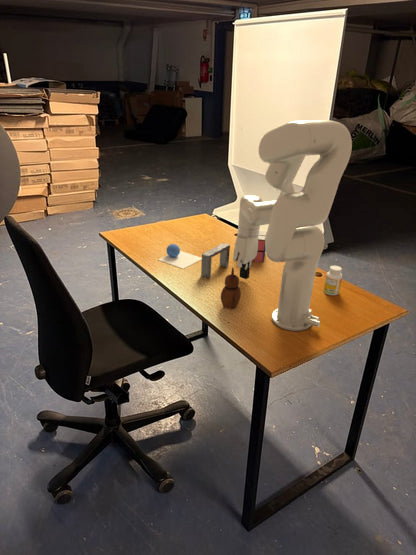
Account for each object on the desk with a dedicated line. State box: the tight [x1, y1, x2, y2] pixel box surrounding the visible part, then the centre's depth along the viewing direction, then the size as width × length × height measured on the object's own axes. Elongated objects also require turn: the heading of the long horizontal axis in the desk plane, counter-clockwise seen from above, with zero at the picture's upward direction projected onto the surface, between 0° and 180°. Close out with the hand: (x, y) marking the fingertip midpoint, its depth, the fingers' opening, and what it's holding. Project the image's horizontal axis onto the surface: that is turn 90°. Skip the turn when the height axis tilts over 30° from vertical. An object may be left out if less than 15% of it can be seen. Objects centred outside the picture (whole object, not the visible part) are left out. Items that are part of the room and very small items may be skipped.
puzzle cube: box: [252, 230, 267, 263], centre depth 177 cm, size 10×10×10 cm
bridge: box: [200, 242, 231, 280], centre depth 163 cm, size 3×14×9 cm, turn 145°
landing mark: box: [158, 250, 202, 270], centre depth 173 cm, size 13×13×1 cm
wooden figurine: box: [220, 267, 242, 310], centre depth 138 cm, size 7×6×15 cm
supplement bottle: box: [323, 265, 343, 296], centre depth 152 cm, size 5×5×10 cm
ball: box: [165, 243, 181, 257], centre depth 174 cm, size 6×6×6 cm
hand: (244, 277), depth 158 cm, fingers closed
